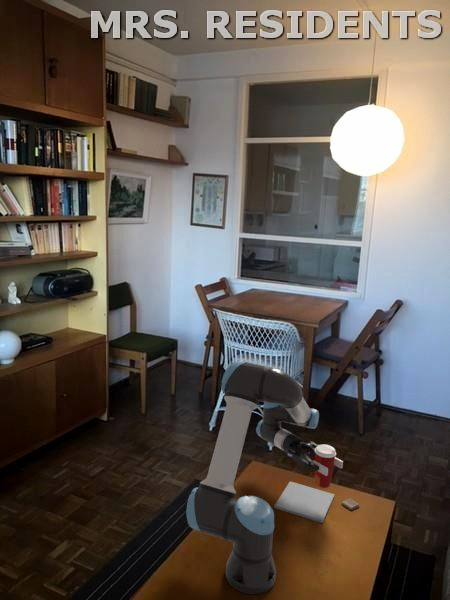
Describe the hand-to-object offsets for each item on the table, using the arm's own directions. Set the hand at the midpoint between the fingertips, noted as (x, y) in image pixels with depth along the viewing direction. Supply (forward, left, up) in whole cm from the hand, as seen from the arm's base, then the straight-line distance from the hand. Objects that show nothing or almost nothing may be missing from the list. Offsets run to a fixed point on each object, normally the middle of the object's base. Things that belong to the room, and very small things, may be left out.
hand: (334, 468), depth 175 cm
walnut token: (+10, +4, -19) cm, 21 cm away
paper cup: (-2, +4, -9) cm, 10 cm away
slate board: (-7, +8, -18) cm, 21 cm away
